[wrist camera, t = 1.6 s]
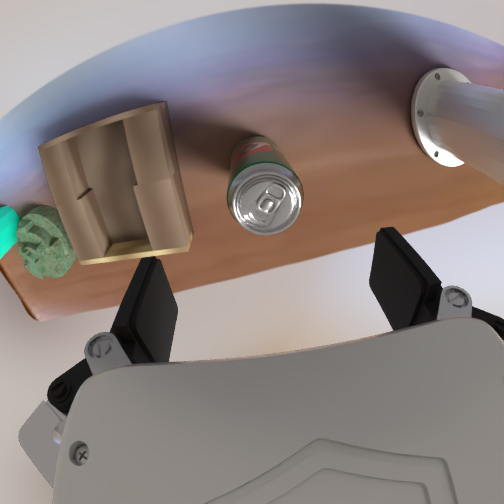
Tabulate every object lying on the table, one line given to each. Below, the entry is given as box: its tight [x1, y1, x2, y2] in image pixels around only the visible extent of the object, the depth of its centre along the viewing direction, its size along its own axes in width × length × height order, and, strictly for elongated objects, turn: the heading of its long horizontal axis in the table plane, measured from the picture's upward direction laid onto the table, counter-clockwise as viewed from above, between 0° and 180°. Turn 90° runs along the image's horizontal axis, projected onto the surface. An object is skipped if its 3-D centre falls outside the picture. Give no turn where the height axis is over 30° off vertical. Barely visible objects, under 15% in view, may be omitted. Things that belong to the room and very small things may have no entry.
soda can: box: [227, 136, 304, 235], centre depth 22 cm, size 5×5×12 cm
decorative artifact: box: [16, 206, 77, 279], centre depth 28 cm, size 10×7×10 cm
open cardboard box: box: [38, 102, 194, 265], centre depth 26 cm, size 14×15×4 cm
